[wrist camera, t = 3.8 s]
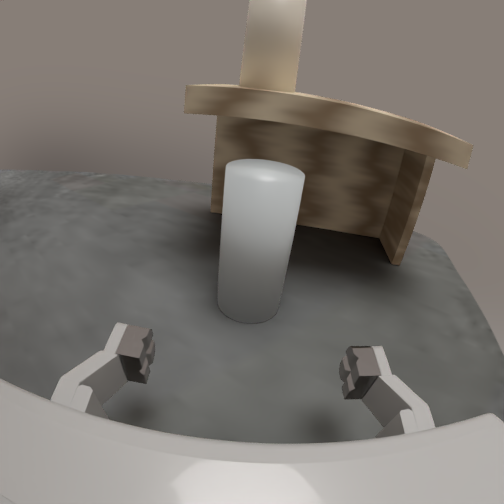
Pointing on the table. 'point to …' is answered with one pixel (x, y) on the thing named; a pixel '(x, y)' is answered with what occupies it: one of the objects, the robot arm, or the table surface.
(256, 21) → the white rounded cylinder
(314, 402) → the table surface
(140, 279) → the table surface
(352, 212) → the counter
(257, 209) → the white cylinder pillar
